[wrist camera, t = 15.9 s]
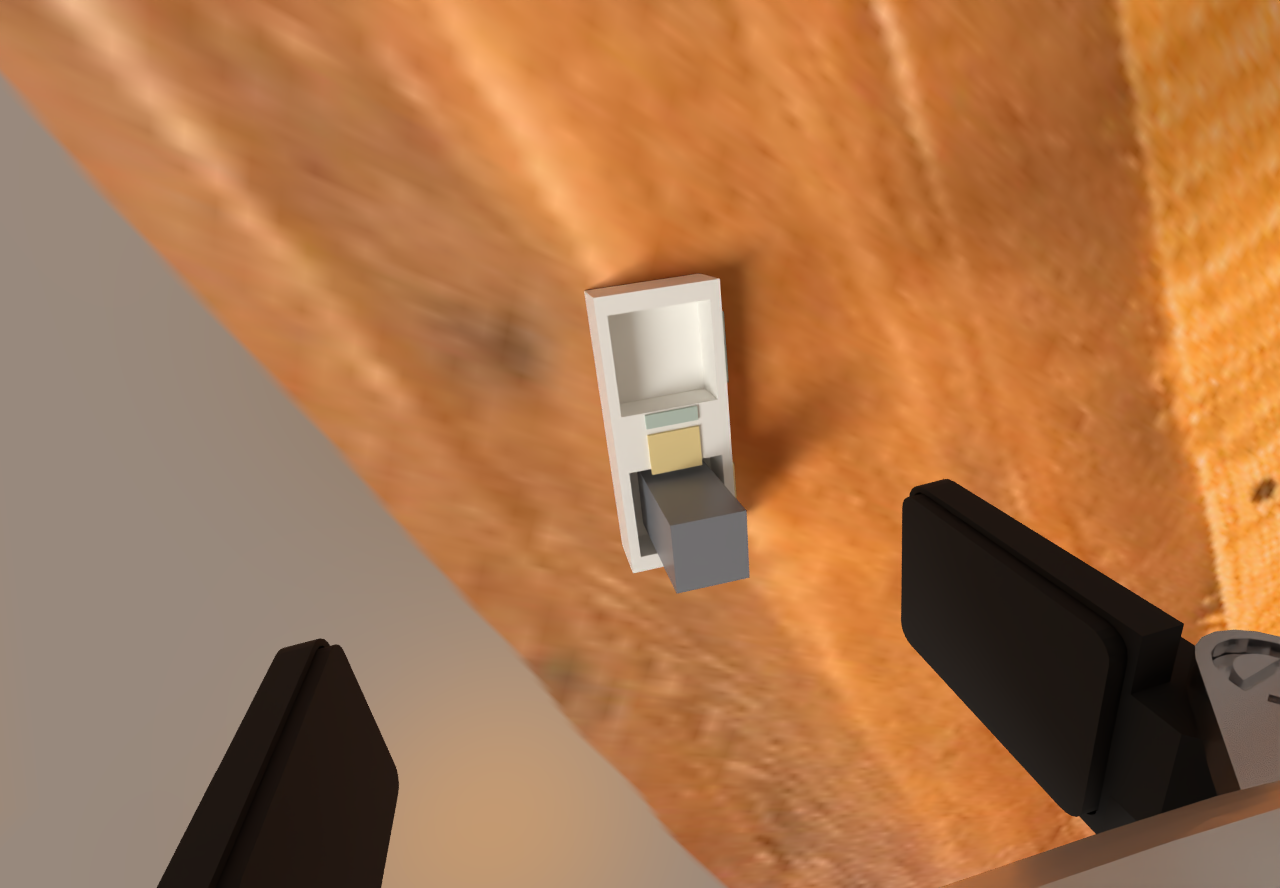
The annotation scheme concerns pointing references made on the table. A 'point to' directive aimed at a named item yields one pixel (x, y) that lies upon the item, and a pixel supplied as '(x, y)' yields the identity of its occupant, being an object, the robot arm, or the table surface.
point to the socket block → (660, 389)
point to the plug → (695, 527)
